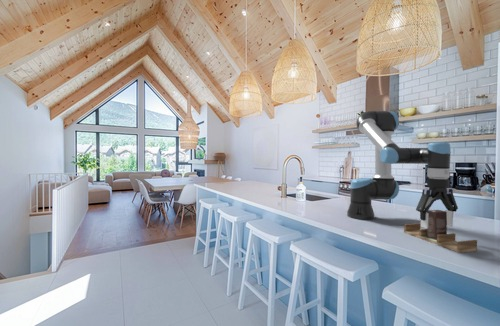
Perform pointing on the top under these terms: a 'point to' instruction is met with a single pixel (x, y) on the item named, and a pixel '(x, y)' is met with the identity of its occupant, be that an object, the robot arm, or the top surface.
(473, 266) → the top surface
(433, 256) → the top surface
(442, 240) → the wooden stepped piece
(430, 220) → the box
